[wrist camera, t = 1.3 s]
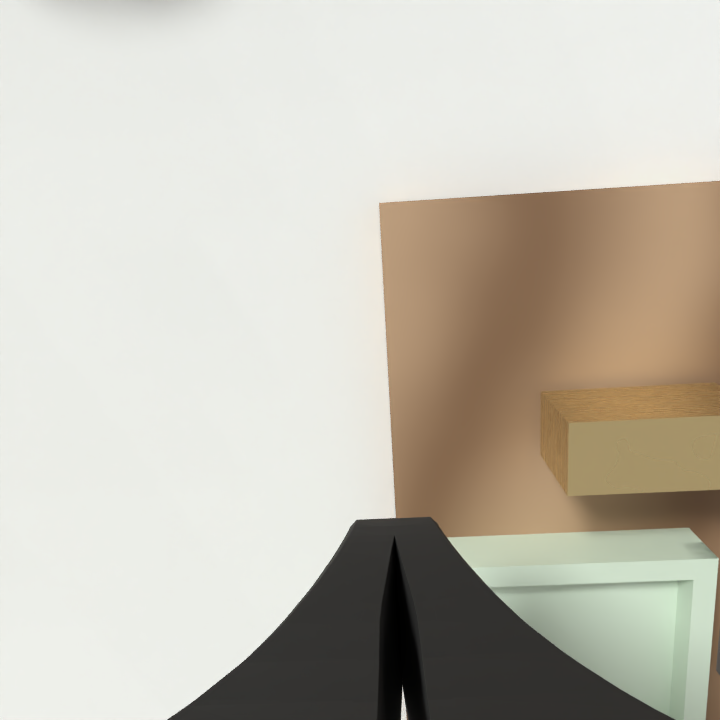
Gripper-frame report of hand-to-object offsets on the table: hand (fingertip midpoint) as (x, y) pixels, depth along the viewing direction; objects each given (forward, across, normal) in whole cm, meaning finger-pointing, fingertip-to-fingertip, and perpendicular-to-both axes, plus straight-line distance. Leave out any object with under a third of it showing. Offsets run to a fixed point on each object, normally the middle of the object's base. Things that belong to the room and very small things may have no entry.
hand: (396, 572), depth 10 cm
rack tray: (+7, -5, +7) cm, 11 cm away
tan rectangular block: (+7, -6, 0) cm, 9 cm away
